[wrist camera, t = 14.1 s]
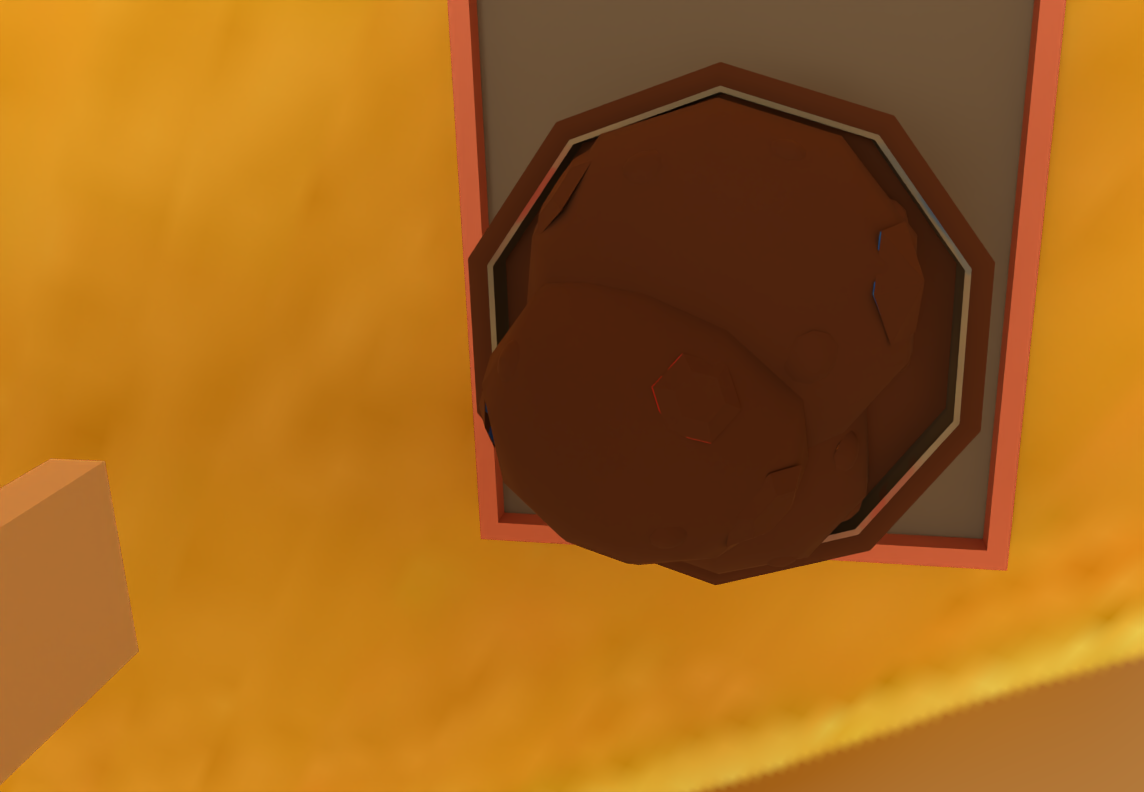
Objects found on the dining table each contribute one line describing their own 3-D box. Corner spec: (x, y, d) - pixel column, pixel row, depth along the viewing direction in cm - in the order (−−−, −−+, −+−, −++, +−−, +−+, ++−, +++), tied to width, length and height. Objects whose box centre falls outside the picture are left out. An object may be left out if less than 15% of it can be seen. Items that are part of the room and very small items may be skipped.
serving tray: (495, 515, 37) (480, 538, 35) (462, -61, 31) (443, -67, 30) (996, 543, 34) (1007, 570, 32) (1059, -92, 28) (1076, -100, 26)
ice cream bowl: (864, 484, 33) (902, 811, 19) (515, 364, 34) (308, 588, 20) (1009, 138, 29) (1194, 222, 15) (614, 16, 30) (443, -10, 16)
